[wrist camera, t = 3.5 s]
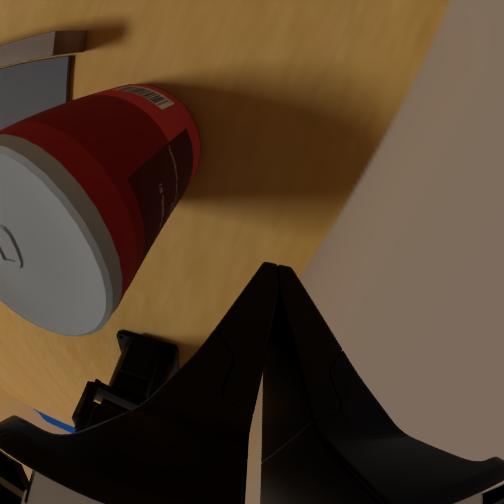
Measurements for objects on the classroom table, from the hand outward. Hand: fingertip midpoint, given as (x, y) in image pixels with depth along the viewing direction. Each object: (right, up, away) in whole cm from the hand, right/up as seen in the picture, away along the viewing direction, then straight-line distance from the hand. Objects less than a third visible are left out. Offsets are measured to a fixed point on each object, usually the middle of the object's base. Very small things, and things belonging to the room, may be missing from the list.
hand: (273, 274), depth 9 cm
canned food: (-7, +7, +7) cm, 12 cm away
